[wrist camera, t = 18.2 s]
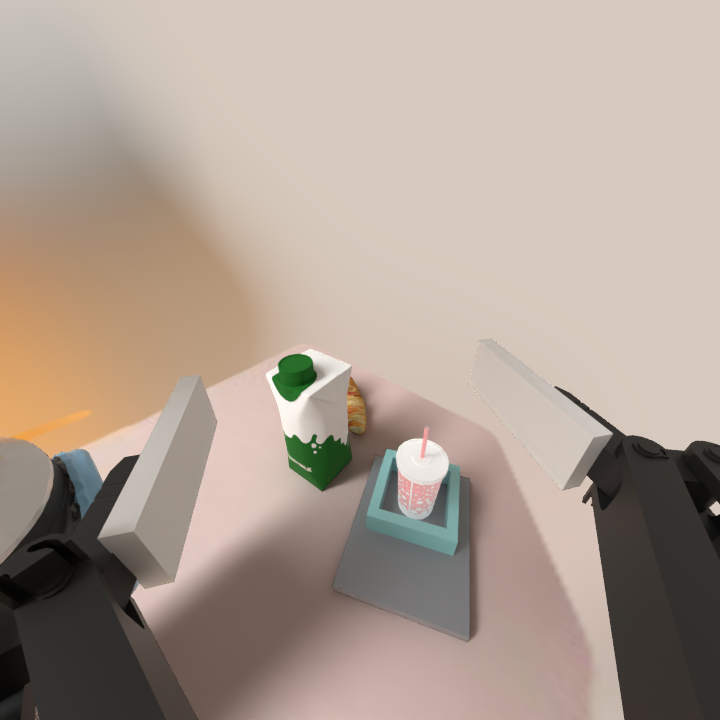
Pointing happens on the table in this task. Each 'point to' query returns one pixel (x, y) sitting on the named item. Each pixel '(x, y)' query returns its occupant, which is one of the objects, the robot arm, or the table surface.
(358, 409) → the croissant
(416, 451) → the beverage cup
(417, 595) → the dock
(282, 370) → the milk carton
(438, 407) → the table surface
